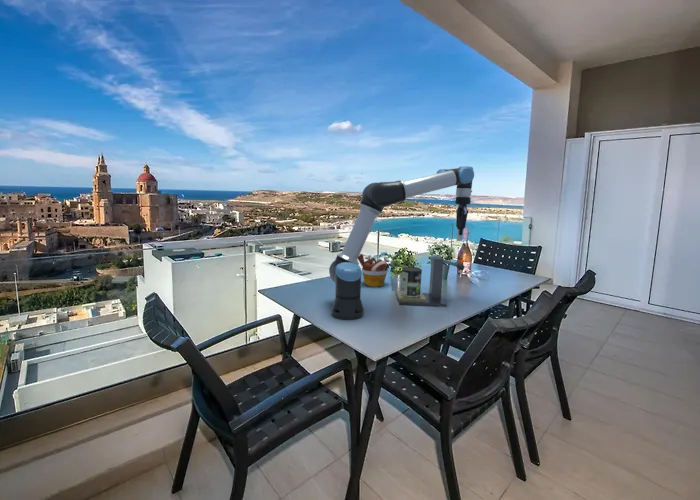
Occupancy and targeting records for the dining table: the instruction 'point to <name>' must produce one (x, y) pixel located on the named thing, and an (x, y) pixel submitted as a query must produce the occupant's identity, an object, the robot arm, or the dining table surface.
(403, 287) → the coffee can
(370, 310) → the dining table surface
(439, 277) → the press frame
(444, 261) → the press lever
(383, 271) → the bucket of meat
